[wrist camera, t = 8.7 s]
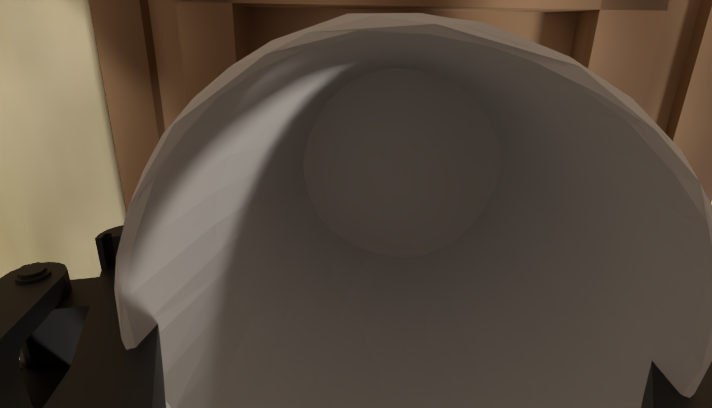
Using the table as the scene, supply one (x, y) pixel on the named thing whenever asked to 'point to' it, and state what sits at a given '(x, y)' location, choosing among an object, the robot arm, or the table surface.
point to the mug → (416, 230)
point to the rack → (475, 3)
